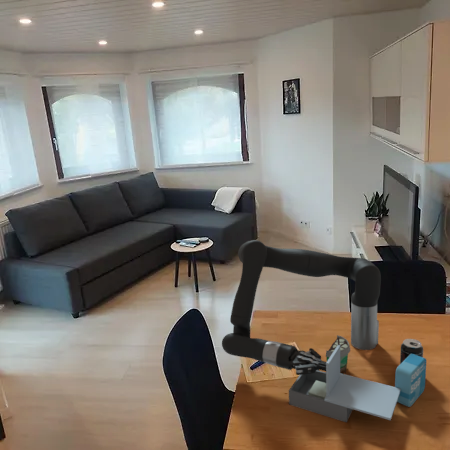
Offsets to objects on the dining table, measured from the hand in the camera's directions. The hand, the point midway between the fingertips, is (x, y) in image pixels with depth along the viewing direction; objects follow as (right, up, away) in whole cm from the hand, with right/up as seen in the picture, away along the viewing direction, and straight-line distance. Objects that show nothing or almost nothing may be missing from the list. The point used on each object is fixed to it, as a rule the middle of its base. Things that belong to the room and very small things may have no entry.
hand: (332, 368), depth 134 cm
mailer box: (-1, -11, +4) cm, 12 cm away
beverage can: (+30, -7, +14) cm, 33 cm away
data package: (+25, -10, +3) cm, 27 cm away
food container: (+7, -7, +19) cm, 21 cm away
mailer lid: (+8, -7, -3) cm, 11 cm away
